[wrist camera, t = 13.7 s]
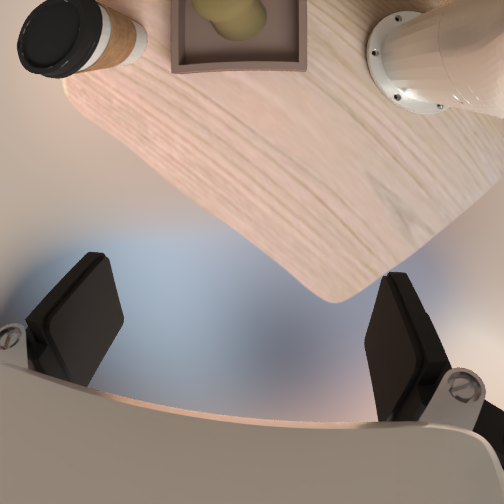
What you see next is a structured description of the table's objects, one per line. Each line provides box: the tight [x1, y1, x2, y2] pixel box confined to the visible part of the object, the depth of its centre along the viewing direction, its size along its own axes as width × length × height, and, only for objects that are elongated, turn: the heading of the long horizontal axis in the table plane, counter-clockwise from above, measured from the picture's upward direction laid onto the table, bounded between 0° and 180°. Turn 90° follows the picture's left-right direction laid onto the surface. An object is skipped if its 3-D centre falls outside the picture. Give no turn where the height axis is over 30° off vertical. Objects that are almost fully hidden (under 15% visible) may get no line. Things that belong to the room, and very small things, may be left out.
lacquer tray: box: [171, 0, 307, 74], centre depth 27 cm, size 14×12×3 cm
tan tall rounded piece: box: [191, 0, 267, 41], centre depth 23 cm, size 6×6×11 cm
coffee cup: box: [17, 0, 147, 78], centre depth 24 cm, size 8×8×15 cm
